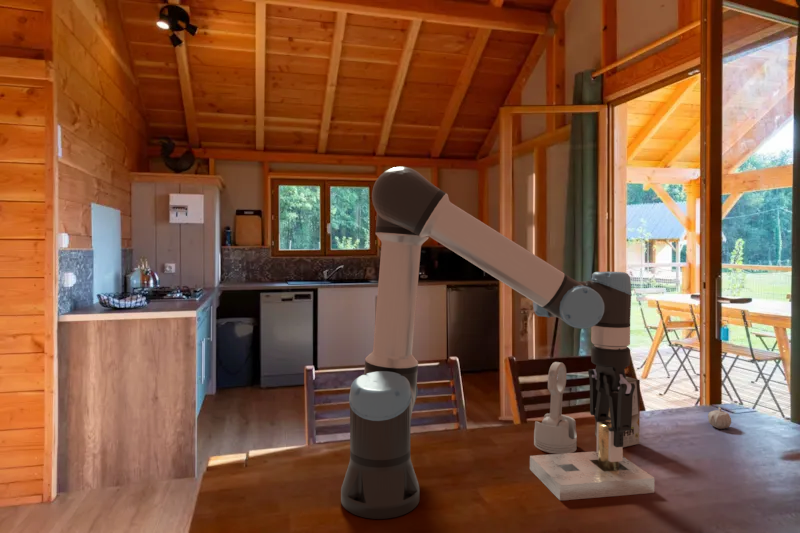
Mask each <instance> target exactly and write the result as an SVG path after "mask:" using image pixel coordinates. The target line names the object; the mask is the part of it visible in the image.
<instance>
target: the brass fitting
mask: <svg viewBox="0 0 800 533" xmlns="http://www.w3.org/2000/svg"><path fill="white" fill-rule="evenodd" d="M608 428H611V422H600V423H599V440H598V467H599V468H600V469H601V470H603V471H618V470H619V461H617V462H610V461H608V451H609V430H608Z"/></svg>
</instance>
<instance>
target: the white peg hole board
mask: <svg viewBox="0 0 800 533" xmlns="http://www.w3.org/2000/svg"><path fill="white" fill-rule="evenodd" d="M529 470H530V471H531V473H533V474H534V475H535V477H537V478H538V480H539V481H540V482H542V484H544V486H545V487H546V488H547V489H548V490H549V492H551V494H553V495H554V496H555V497H556V498H557V499H558V500H559V501H569V500H571V501H572V500H581V499H582V500H583V499H594V498H595V499H596V498H606V497H619V496H630V495H631V496H632V495H643V494H645V495H646V494H654V493H655V477H654V476H653V475H651V474H649V473H648V472H647V471H645V470H644V469H642V468H641V467H640V466H638V465H637V464H635V463H634V462H632V461H630V460H629V459H627V458H626V457H625V456H623V461H619V470H618V471H603V470H601V469H600V468H599V467H598V453H597V452H596V451H581V452H572V453H564V454H554V453H549V454H537V455H529Z"/></svg>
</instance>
